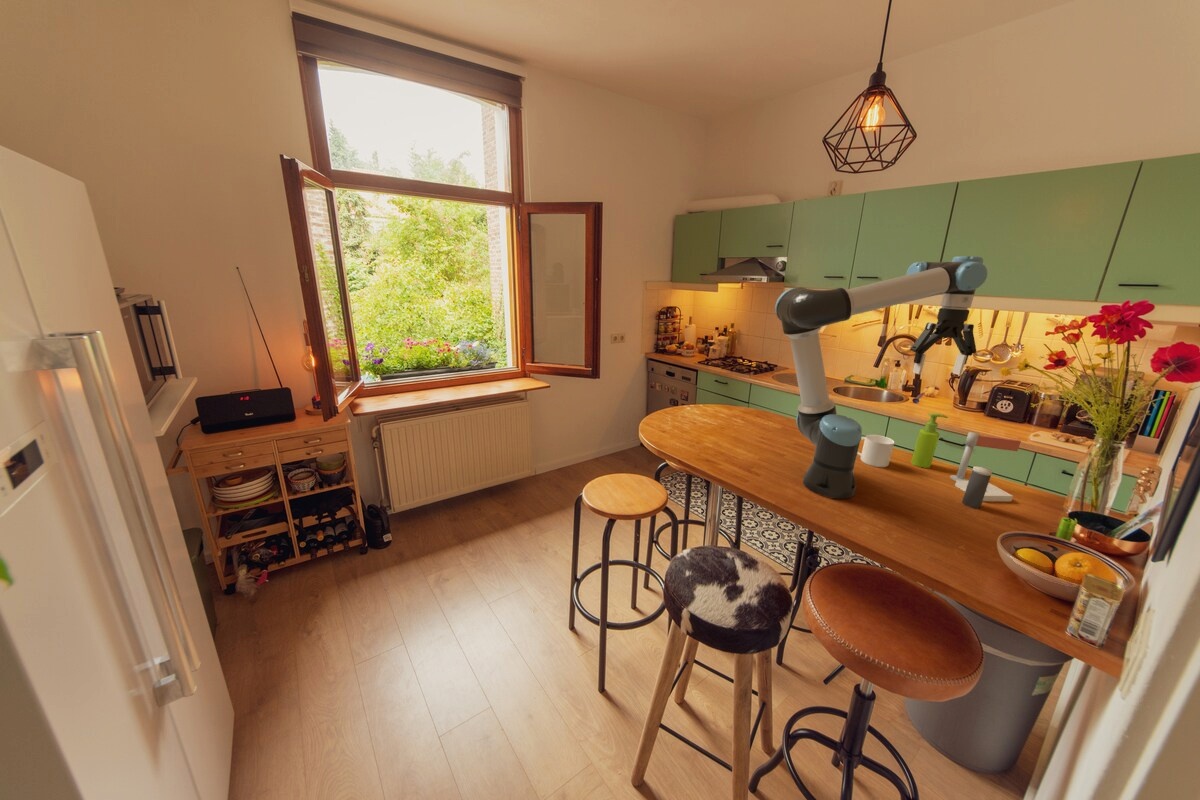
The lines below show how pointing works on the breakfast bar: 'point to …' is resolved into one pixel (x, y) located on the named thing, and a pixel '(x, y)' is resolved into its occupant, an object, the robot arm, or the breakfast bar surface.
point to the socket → (962, 482)
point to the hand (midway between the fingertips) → (936, 373)
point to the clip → (992, 442)
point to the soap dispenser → (926, 443)
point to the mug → (876, 450)
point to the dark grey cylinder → (976, 487)
